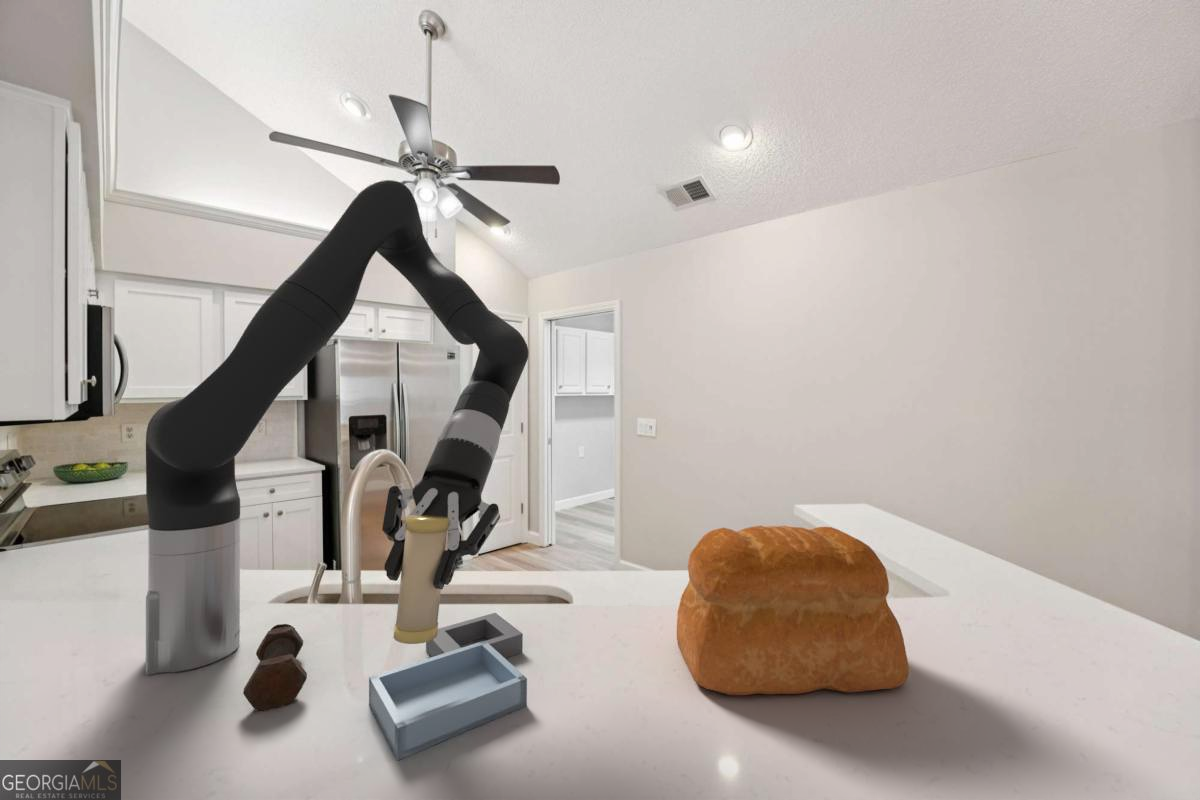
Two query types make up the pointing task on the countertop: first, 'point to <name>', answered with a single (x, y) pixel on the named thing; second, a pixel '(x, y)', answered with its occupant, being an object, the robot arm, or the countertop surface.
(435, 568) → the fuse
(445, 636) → the fuse holder
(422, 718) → the parts tray
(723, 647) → the bread
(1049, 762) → the countertop surface
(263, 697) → the bolt
